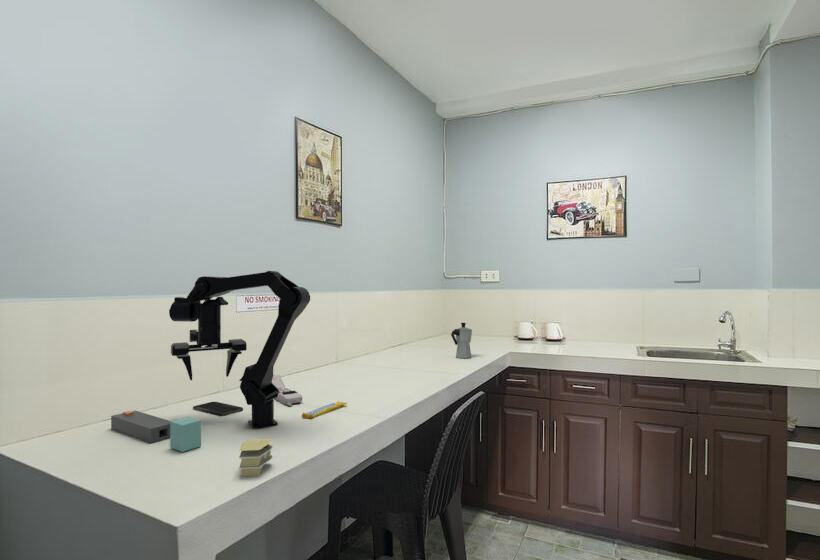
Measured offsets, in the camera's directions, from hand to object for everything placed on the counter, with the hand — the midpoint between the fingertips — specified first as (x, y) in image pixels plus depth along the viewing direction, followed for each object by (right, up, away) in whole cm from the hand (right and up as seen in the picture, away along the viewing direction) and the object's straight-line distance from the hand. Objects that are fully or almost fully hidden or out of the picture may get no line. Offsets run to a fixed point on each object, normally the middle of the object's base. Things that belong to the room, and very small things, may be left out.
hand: (209, 378), depth 126 cm
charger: (+2, -12, -19) cm, 23 cm away
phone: (-3, -13, +12) cm, 18 cm away
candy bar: (+30, -13, +10) cm, 34 cm away
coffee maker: (+82, -13, +109) cm, 137 cm away
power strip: (-13, -12, -9) cm, 20 cm away
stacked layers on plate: (+24, -12, -33) cm, 42 cm away
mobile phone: (+13, -13, +26) cm, 32 cm away
